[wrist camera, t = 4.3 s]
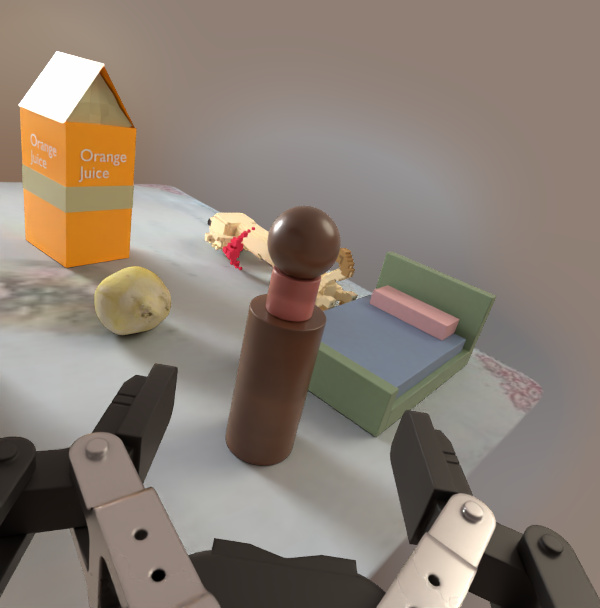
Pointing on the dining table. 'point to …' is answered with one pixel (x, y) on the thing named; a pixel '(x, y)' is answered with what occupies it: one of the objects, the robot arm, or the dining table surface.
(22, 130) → the orange juice
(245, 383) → the skittle
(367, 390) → the bed
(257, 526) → the dining table surface
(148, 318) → the fruit
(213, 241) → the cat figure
